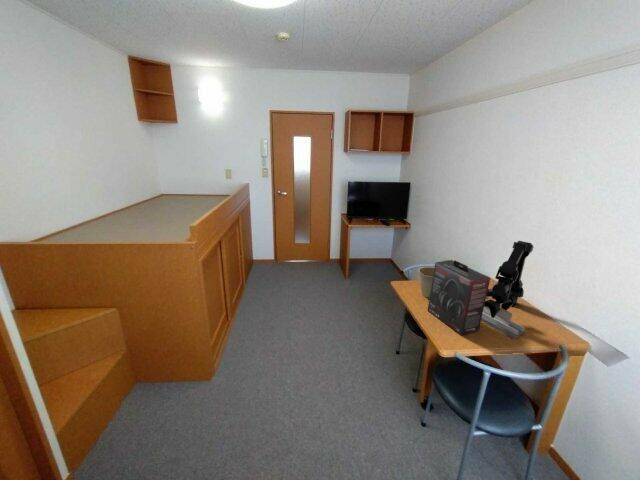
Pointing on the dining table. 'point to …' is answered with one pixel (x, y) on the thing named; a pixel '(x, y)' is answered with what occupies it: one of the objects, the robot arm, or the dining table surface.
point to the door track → (503, 326)
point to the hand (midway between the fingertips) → (497, 315)
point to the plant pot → (426, 280)
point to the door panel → (500, 315)
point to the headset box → (458, 296)
